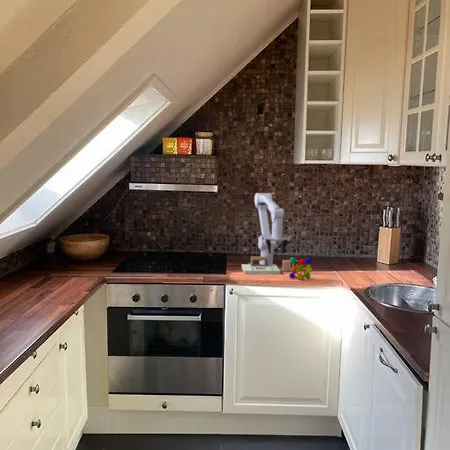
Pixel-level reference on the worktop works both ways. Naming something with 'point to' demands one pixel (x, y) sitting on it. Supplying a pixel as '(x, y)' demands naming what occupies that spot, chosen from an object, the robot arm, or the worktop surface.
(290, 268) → the slate pad
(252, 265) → the walnut cover
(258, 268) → the puzzle board
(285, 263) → the terracotta block
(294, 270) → the molecular model
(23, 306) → the worktop surface
